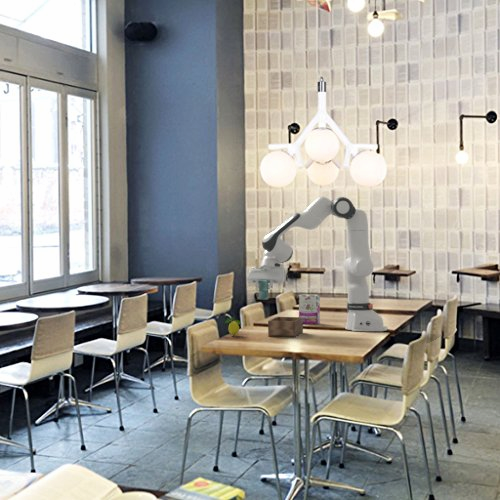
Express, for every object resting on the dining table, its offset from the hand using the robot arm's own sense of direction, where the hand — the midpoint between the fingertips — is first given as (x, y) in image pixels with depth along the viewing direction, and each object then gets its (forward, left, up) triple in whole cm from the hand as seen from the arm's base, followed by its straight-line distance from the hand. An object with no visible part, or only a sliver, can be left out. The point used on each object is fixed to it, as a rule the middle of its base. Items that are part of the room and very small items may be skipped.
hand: (263, 288), depth 421 cm
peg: (0, -1, -6) cm, 6 cm away
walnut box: (-14, +6, -23) cm, 28 cm away
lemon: (+11, +16, -23) cm, 31 cm away
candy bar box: (-17, -36, -23) cm, 46 cm away
